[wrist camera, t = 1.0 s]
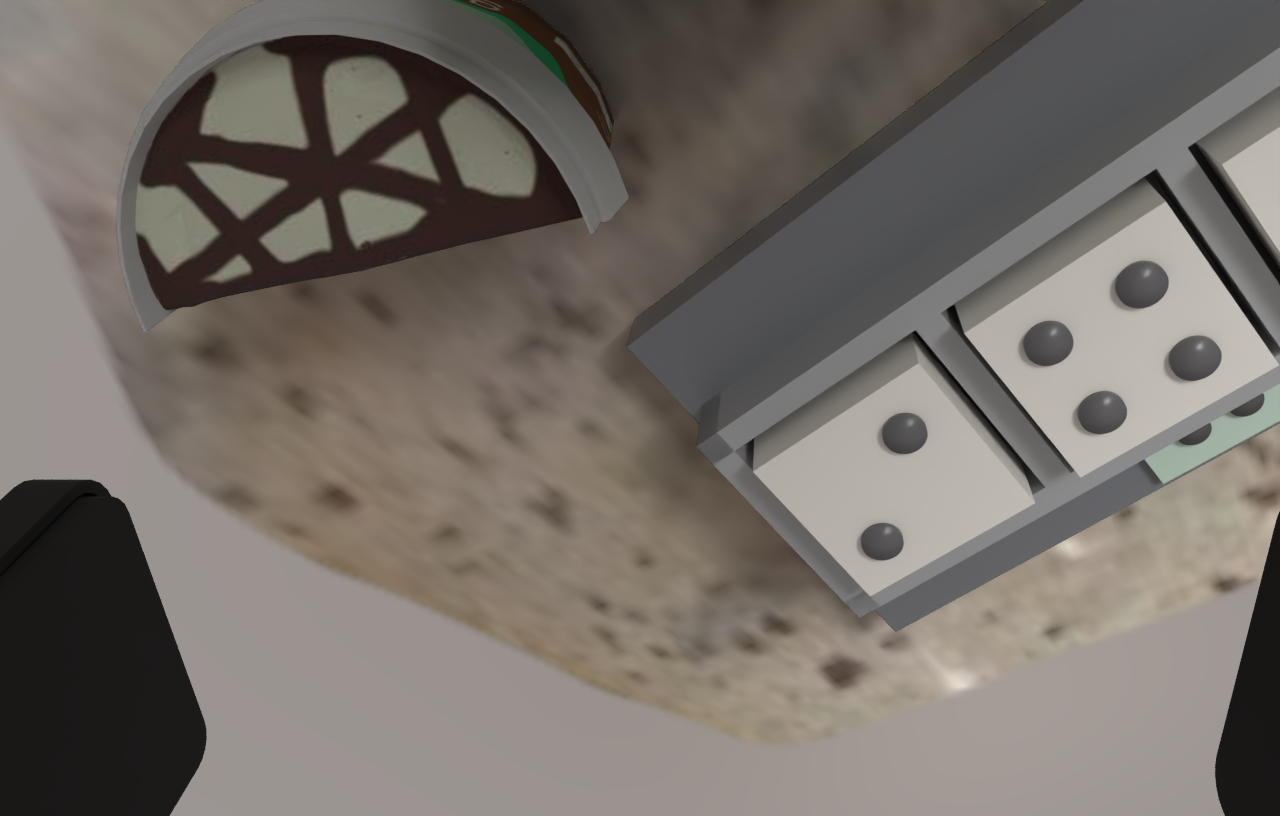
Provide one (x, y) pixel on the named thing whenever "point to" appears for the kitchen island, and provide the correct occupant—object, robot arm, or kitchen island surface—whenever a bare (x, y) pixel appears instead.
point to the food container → (356, 145)
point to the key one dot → (1251, 165)
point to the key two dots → (891, 467)
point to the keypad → (983, 261)
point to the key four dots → (1114, 330)
